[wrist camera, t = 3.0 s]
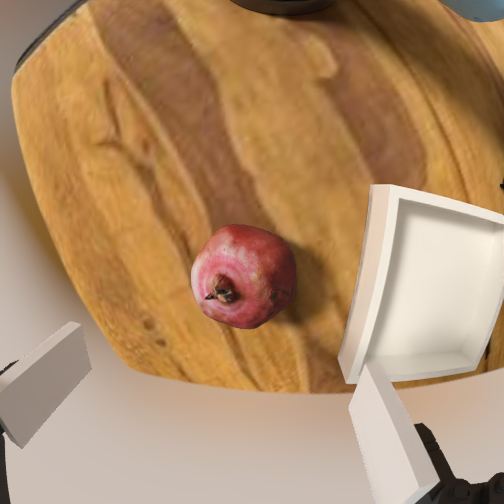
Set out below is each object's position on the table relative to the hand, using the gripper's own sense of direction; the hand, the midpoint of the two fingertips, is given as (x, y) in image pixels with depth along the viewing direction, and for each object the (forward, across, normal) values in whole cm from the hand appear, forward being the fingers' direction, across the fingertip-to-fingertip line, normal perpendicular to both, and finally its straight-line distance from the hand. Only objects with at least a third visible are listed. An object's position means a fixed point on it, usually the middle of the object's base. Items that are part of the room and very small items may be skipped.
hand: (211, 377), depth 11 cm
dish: (+18, +22, 0) cm, 28 cm away
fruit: (+18, 0, 0) cm, 18 cm away
